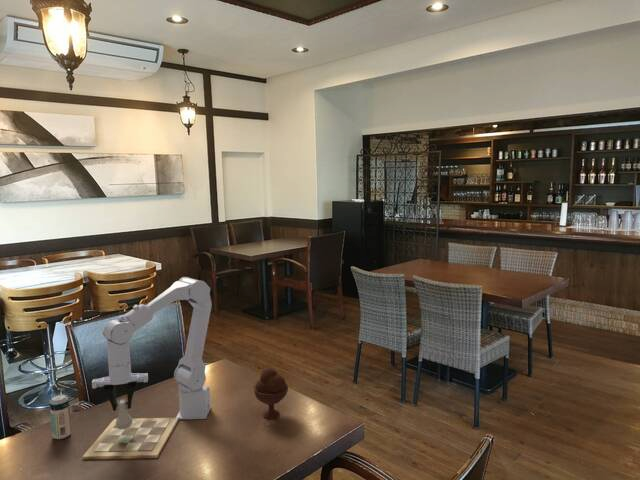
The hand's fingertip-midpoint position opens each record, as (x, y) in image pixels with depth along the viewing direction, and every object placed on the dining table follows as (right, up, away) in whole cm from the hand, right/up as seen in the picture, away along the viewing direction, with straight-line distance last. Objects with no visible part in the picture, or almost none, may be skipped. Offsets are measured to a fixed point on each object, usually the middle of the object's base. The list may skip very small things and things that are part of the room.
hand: (122, 408), depth 130 cm
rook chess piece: (0, -6, +2) cm, 6 cm away
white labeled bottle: (-20, -10, +4) cm, 22 cm away
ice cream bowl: (+41, -8, +15) cm, 45 cm away
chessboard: (+2, -10, +3) cm, 10 cm away
